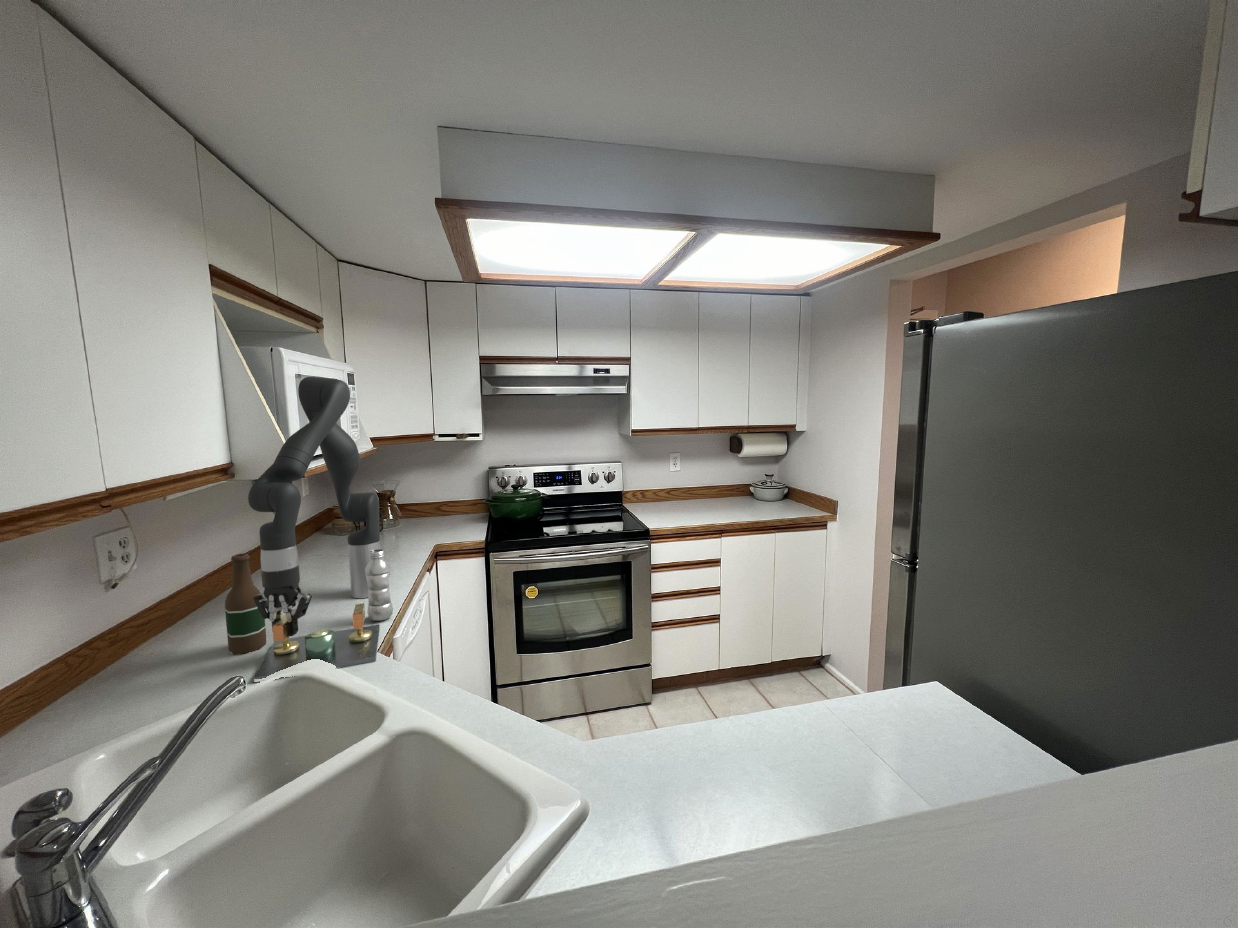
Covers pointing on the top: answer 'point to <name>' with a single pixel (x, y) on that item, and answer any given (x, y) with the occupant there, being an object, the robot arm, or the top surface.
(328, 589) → the top surface
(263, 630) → the beer bottle
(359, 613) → the knob
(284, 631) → the knob
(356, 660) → the base plate
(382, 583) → the plastic bottle
